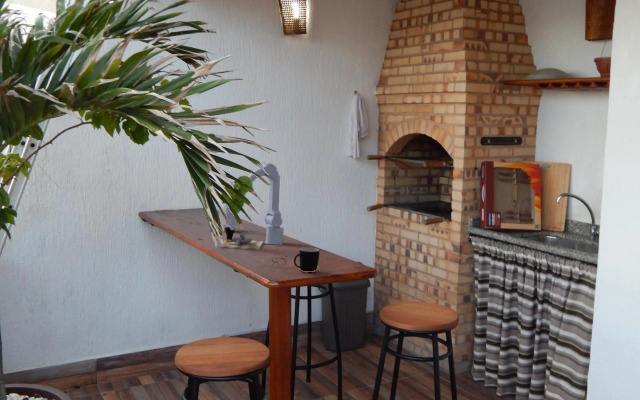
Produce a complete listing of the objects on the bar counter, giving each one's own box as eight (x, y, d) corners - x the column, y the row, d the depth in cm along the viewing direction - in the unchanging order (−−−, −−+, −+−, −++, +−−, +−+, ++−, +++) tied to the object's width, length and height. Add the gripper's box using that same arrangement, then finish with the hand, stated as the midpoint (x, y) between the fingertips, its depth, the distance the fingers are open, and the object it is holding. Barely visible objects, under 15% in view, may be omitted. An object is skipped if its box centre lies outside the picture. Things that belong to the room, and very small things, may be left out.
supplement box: (224, 232, 399) (225, 209, 397) (218, 231, 401) (219, 208, 400) (234, 230, 405) (235, 208, 403) (228, 229, 408) (229, 207, 406)
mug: (312, 268, 316) (313, 247, 314) (321, 273, 308) (323, 251, 307) (289, 270, 310) (290, 248, 309) (298, 274, 302) (299, 252, 301)
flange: (246, 239, 369) (247, 236, 369) (254, 242, 360) (255, 240, 360) (222, 240, 362) (222, 237, 361) (230, 243, 353) (230, 241, 353)
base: (263, 242, 372) (263, 231, 371) (258, 250, 352) (259, 238, 351) (226, 240, 372) (226, 229, 372) (219, 247, 353) (220, 236, 352)
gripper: (220, 213, 364) (219, 238, 366) (225, 217, 350) (224, 244, 352) (233, 213, 366) (232, 238, 368) (239, 217, 353) (238, 243, 354)
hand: (229, 241), depth 360 cm, fingers closed, pressing on flange
